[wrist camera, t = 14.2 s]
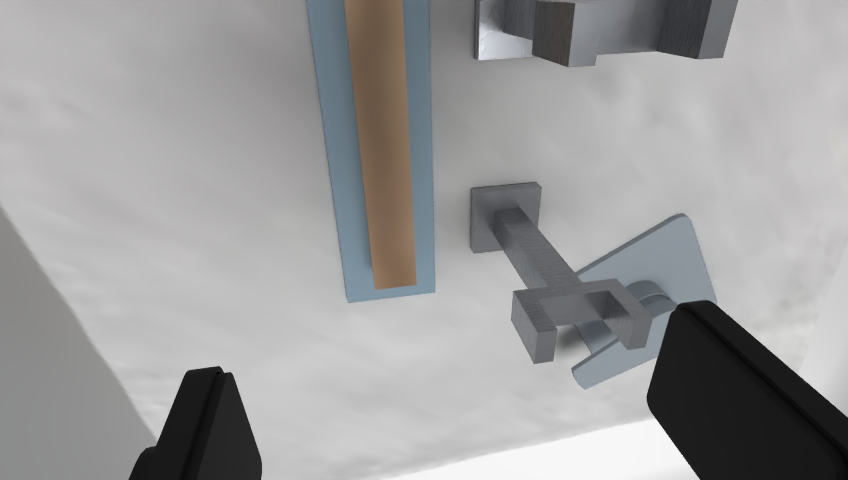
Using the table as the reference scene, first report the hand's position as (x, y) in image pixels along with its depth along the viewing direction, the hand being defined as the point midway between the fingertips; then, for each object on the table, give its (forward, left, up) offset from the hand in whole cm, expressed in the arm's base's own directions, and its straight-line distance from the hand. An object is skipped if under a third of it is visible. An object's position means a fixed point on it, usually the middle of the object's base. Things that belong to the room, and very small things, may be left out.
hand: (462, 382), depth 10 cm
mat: (0, +1, -24) cm, 24 cm away
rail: (0, +1, -23) cm, 23 cm away
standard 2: (-9, -6, -24) cm, 26 cm away
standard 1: (-9, +8, -24) cm, 26 cm away
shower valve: (-21, +18, -24) cm, 37 cm away
